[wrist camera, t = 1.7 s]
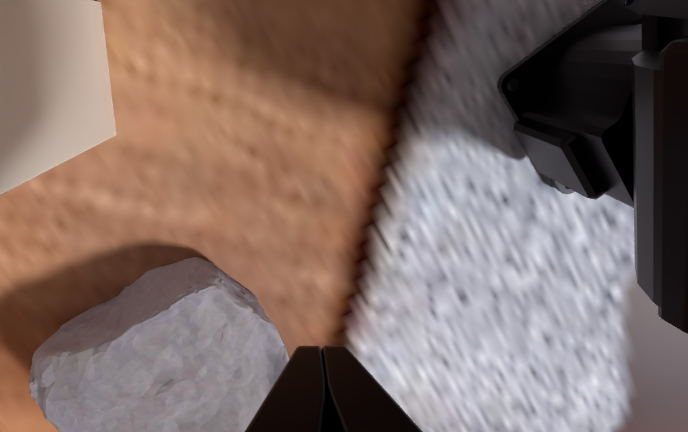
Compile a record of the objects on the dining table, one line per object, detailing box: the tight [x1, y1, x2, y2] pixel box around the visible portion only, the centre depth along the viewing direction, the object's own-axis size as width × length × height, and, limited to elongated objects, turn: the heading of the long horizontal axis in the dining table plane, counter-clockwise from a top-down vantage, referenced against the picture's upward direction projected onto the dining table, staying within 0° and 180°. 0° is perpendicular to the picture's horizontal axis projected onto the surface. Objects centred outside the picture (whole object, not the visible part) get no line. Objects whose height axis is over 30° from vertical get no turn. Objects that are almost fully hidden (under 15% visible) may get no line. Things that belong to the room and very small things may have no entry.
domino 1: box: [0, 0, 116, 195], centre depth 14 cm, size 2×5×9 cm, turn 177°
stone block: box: [29, 257, 289, 432], centre depth 22 cm, size 12×5×10 cm
